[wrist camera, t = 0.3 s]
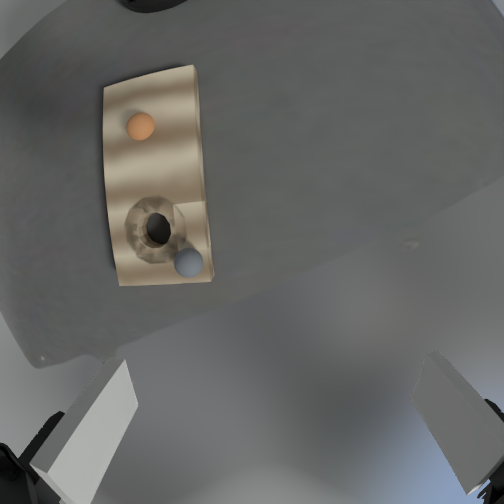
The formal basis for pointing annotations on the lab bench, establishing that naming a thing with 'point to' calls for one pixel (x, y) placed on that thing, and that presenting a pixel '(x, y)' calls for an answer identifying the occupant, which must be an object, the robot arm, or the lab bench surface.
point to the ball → (140, 126)
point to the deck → (156, 176)
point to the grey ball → (188, 262)
